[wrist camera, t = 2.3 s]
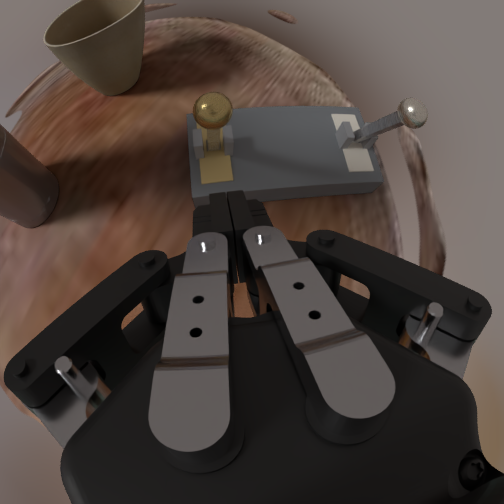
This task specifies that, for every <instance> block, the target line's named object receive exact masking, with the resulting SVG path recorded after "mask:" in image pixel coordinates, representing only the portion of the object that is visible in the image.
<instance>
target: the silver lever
mask: <svg viewBox="0 0 504 504" xmlns="http://www.w3.org/2000/svg"><path fill="white" fill-rule="evenodd" d="M427 118H428V114H427V109H426V107H425V105H424V104H423V103H422V102H421V101H419V100H418V99H415V98H406V99H404V100H403V101H402V102H400V104H399V106H398V111H396V112H394V113H392V114H389V115H387V116H385V117H383V118H381V119H379V120H377V121H375V122H372V123H370V124H368V125H366V126H364V127H362V128H360V129H358V130H356V131H354V132H353V133H354V136H355V138H354V140H353V141H352V143H362V141H364V140H366V139H369V138H371V137H374V136H377V135H379V134H382V133H384V132H387V131H390V130H392V129H394V128H397V127H400V126H403V125H405V126H407V127H409V128H413V129H416V128H420V127H422V126H423V125H424V124H425V123H426V121H427Z"/></svg>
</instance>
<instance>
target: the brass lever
mask: <svg viewBox="0 0 504 504" xmlns="http://www.w3.org/2000/svg"><path fill="white" fill-rule="evenodd" d="M232 114H233V107H232V103H231V101H230V100H229V99H228V98H227V97H226V96H225V95H223V94H221V93H218V92H209V93H206V94H203V95H202V96H200V97H199V98H198V99H197V100H196V102H195V104H194V107H193V116H194V119H195V121H196V122H197V124H198V125H200V126H201V127H203V128H205V129H207V138H208V140H206V145H207V151H215V150H221V144H220V130H221V128H222V127H224V126H225V125H226V124H227V123H228V122H229V121H230V119H231V117H232Z"/></svg>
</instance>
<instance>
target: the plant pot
mask: <svg viewBox="0 0 504 504" xmlns="http://www.w3.org/2000/svg"><path fill="white" fill-rule="evenodd" d="M144 32H145V8H144V0H80V1H79V2H77V3H75V4H74V5H72V6H70V7H69V8H68V9H66V10H65V11H64V12H62V13H61V14H60V15H59V16H58V17H57V18H56V19H55V20H54V21H53V22H52V23H51V24H50V25H49V27H48V28H47V30H46V32H45V34H44V37H43V39H44V43H45V44H46V46H47V47H48V48H49V49H50V50H51V51H52V52H53V53H54V55H55V56H56V57H57V58H58V59H59V60H60V61H61V62H62V63H63V64H64V65H65V66H66V67H67V68H68V69H69V70H70V71H71V72H73V73H74V74H75V75H76V76H77V77H78V78H80V79H81V80H82V81H84V82H85V83H86V84H88V85H89V86H91V87H92V88H94V89H95V90H97V91H98V92H100V93H102V94H104V95H107V96H114V95H118V94H121V93H123V92H125V91H127V90H128V89H130V88H131V87H132V86H133V85H134V84H135V83H136V82H137V80H138V78H139V74H140V69H141V63H142V55H143V46H144Z"/></svg>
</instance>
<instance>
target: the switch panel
mask: <svg viewBox="0 0 504 504" xmlns="http://www.w3.org/2000/svg"><path fill="white" fill-rule="evenodd" d="M368 124H370V123H368V122H366V123H365V124H364V121H363V118H362V116H361V113H360V111H359V108H354V107H332V106H277V107H255V108H240V109H233V114H232V117H231V119H230V121H229V122H228V123H227V124H226V125H225V126H224V127H222V128H221V130H220V144H221V150H215V151H207V145H206V140H208V138H207V129H205V128H203V127H201V126H200V125H198V124H197V122H196V121H195V119H194V116H193V113H192V114H187V130H188V147H189V162H190V176H191V189H192V199H193V202H194V205H195V208H197V207H198V206H200V205H208V204H210V200H209V194H211V193H219V192H225V193H226V198H227V191H236V190H243V192H244V194H245V197H246V200H252V199H257V200H258V201H260V202H264V201H274V200H284V199H295V198H306V197H318V196H331V195H345V194H359V193H372V192H373V191H374V190H375V189H376V188H377V187H378V186H380V185H381V184H382V183H383V182H384V180H383V176H382V173H381V170H380V167H379V164H378V160H377V157H376V154H375V151H374V148H373V146H372V145H373V144H374V143H375V141H376V140H377V139H378V136H374V137H371V138H369V139H366V140H364V141H362V143H352V141H353V140H354V138H355V136H354V133H353V132H354V131H356V130H358V129H360V128H362V127H364V126H366V125H368Z"/></svg>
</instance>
